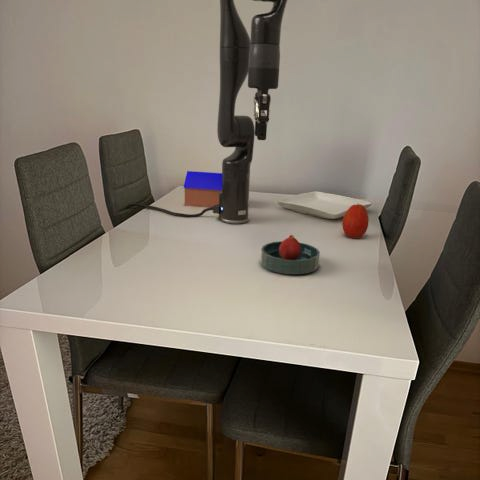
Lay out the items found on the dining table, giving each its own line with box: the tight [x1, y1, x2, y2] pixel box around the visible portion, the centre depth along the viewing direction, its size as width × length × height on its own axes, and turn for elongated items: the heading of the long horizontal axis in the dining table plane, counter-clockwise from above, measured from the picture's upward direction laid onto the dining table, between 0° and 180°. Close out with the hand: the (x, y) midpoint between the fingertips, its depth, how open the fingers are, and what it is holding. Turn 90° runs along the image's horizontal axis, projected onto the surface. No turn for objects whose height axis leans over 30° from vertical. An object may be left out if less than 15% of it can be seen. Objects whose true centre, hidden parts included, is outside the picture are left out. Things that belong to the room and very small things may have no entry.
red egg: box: [341, 204, 370, 239], centre depth 144 cm, size 8×8×11 cm
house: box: [183, 170, 222, 208], centre depth 174 cm, size 12×20×12 cm, turn 81°
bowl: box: [260, 240, 321, 275], centre depth 120 cm, size 15×15×4 cm
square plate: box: [275, 190, 374, 220], centre depth 173 cm, size 27×27×4 cm
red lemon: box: [279, 234, 301, 260], centre depth 119 cm, size 6×6×8 cm
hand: (260, 138), depth 118 cm, fingers open, 8 cm apart
